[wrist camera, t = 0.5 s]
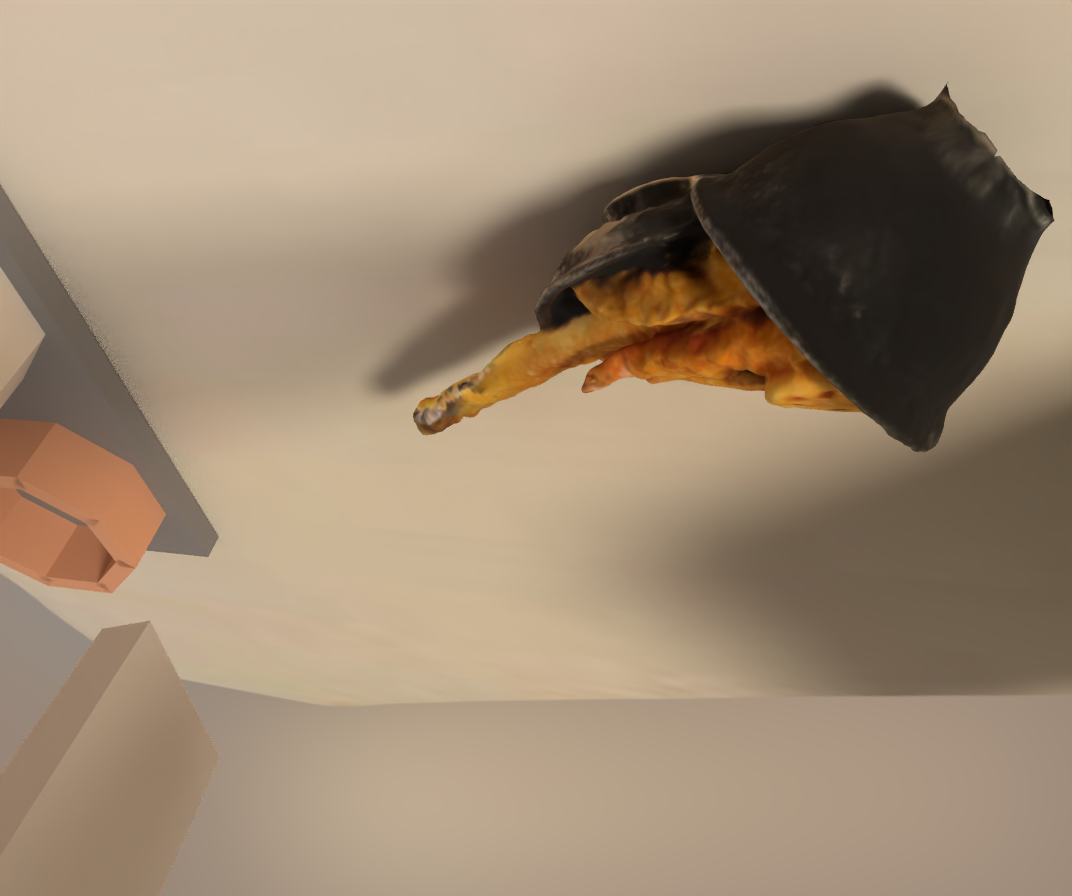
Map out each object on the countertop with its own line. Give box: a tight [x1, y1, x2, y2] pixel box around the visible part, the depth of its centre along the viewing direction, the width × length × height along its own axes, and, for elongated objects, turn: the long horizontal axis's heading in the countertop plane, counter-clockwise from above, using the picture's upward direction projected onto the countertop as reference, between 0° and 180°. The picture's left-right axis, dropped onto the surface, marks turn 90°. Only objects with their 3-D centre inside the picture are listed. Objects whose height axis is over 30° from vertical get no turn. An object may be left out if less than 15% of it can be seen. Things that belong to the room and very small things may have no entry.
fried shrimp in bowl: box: [413, 84, 1054, 452], centre depth 26 cm, size 9×11×18 cm
